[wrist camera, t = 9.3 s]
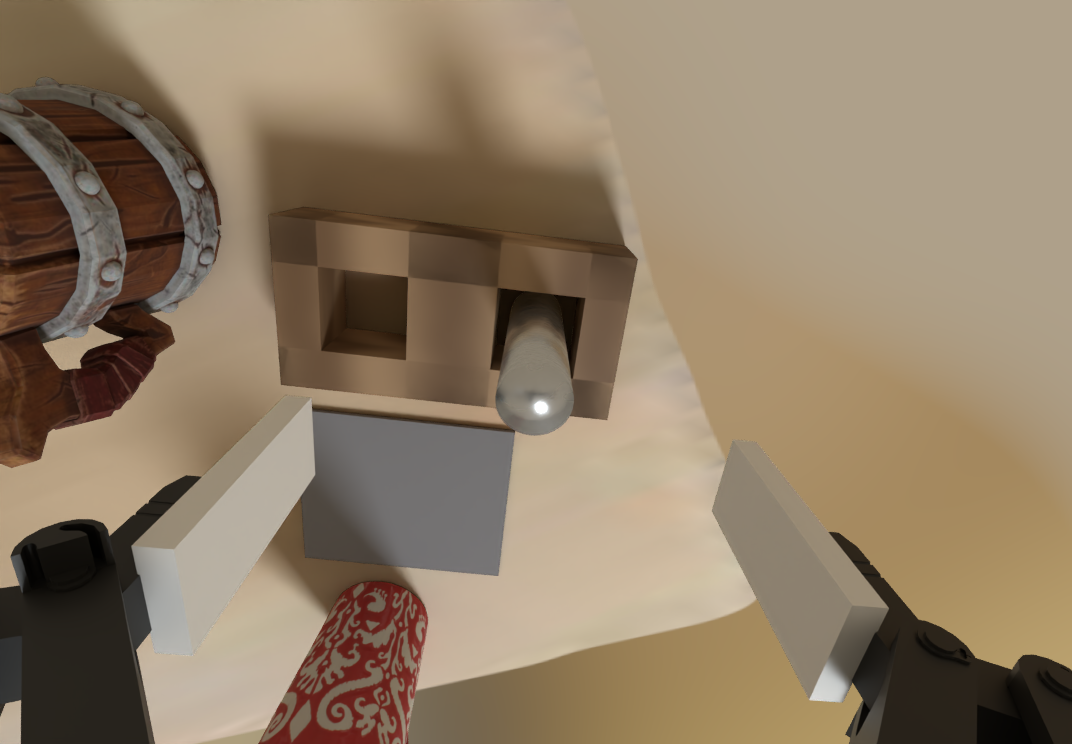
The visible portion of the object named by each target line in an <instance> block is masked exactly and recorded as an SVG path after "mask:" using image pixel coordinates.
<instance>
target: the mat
mask: <svg viewBox="0 0 1072 744" xmlns="http://www.w3.org/2000/svg"><path fill="white" fill-rule="evenodd" d="M312 419H313V439H314V460H315V476H314V477H313V479H312V480H311V482H310V483H309V485H308V486H307V488H306V489H305V491H304V492H303V494H302V495H301V501H302V517H303V532H304V547H305V558H316V559H326V560H337V561H347V562H357V563H368V564H378V565H389V566H399V567H410V568H420V569H430V570H441V571H451V572H462V573H472V574H483V575H493V576H498V573H499V565H500V556H501V547H502V539H503V530H504V521H505V513H506V504H507V495H508V487H509V478H510V469H511V461H512V452H513V443H514V435H515V431H514V430H504V429H495V428H485V427H476V426H467V425H457V424H448V423H438V422H429V421H420V420H410V419H401V418H391V417H382V416H373V415H363V414H354V413H344V412H335V411H326V410H316V409H312Z"/></svg>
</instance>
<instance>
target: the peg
mask: <svg viewBox="0 0 1072 744" xmlns="http://www.w3.org/2000/svg"><path fill="white" fill-rule="evenodd" d="M495 403H496V408H497V411H498V414H499V416H500V417H501V419H502V420H503V421H504V423H505V424H506V425H507V426H509V427H510V428H511V429H513V430H515V431H517V432H519V433H522V434H526V435H543V434H547V433H550V432H552V431H555V430H556V429H558V428H559V427H561V426H562V425H563V424H564V423H565V422H566V421H567V419H568V418H569V416H570V414H571V412H572V409H573V404H574V395H573V388H572V381H571V375H570V368H569V361H568V354H567V347H566V340H565V333H564V327H563V320H562V313H561V307H560V304H559V302H558V301H557V299H556V298H555V297H554V296H553V295H552V294H547V293H538V292H530V291H525V292H523V293H522V294H520V295H519V296H518V297H517V298H516V299H515V301H514V303H513V305H512V308H511V313H510V319H509V324H508V330H507V335H506V341H505V346H504V352H503V357H502V363H501V368H500V374H499V379H498V385H497V390H496V396H495Z"/></svg>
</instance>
